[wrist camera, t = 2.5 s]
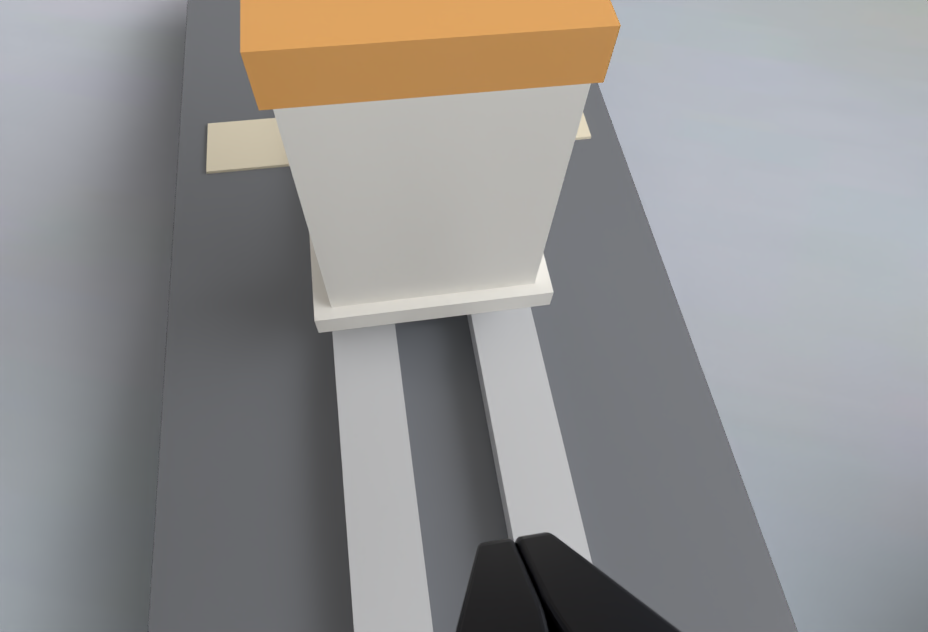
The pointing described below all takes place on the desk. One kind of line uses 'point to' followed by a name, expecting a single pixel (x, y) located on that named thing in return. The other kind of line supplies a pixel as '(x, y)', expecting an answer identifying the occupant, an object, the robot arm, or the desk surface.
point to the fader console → (424, 409)
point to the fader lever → (426, 143)
